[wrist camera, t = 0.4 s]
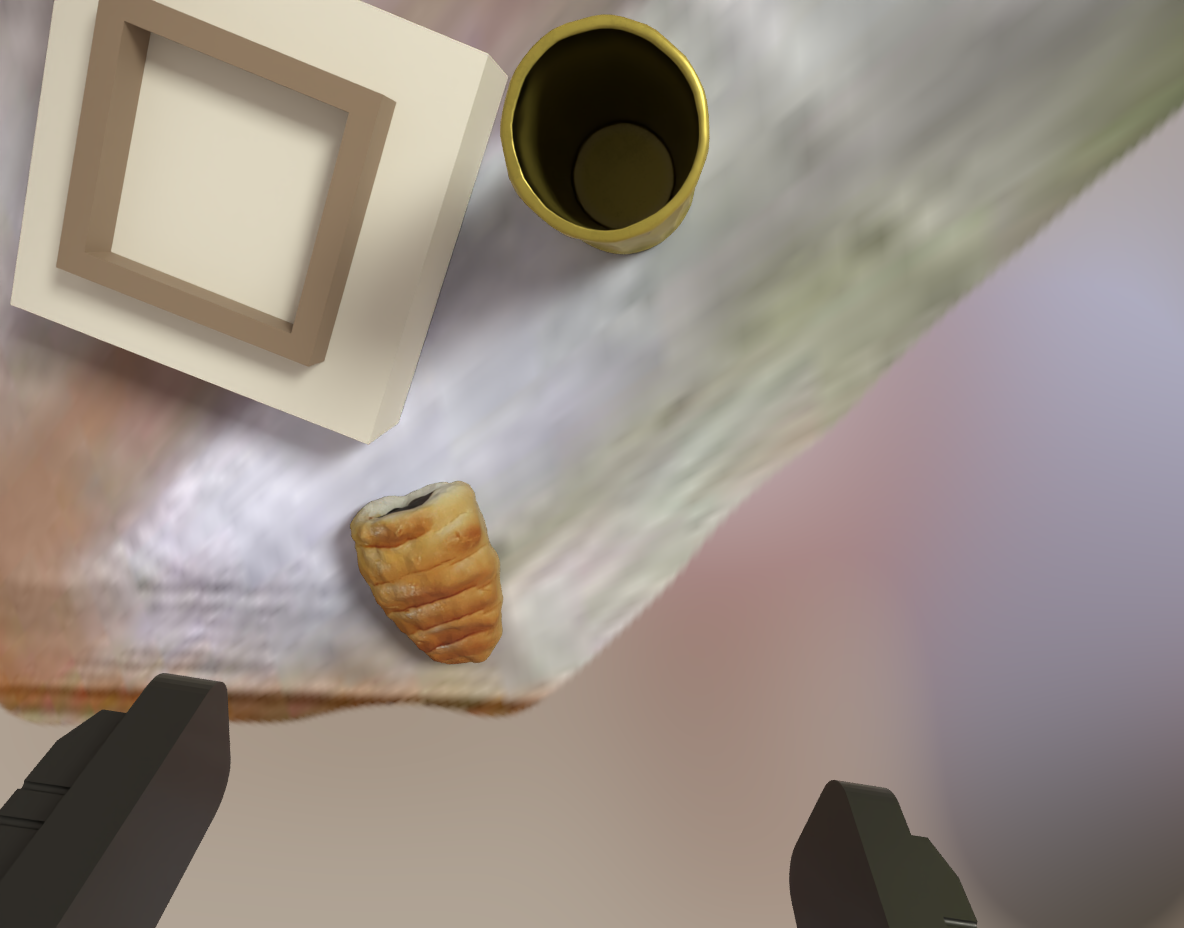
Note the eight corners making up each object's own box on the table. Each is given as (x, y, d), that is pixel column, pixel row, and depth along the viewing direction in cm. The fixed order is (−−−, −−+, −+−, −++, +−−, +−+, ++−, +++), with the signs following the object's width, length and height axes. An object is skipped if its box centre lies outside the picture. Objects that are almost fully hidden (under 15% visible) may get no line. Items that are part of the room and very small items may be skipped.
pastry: (538, 630, 39) (525, 671, 35) (420, 663, 40) (396, 705, 36) (471, 465, 37) (450, 490, 33) (348, 504, 38) (315, 533, 34)
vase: (580, 79, 31) (525, -49, 17) (718, 132, 31) (770, 46, 18) (534, 224, 33) (451, 211, 19) (664, 273, 33) (674, 295, 19)
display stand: (143, -74, 31) (38, -140, 25) (508, 77, 31) (479, 43, 26) (79, 297, 35) (-21, 307, 30) (398, 423, 36) (355, 453, 31)
